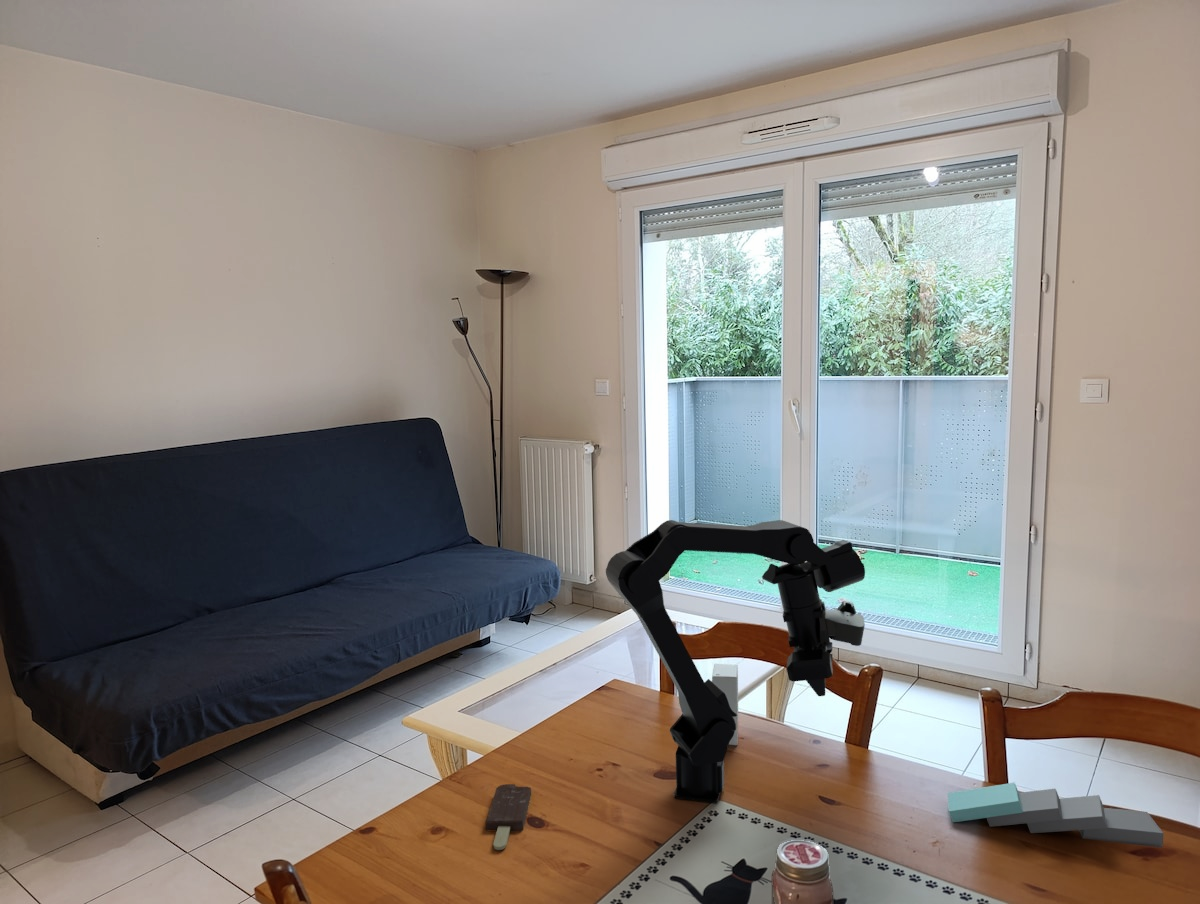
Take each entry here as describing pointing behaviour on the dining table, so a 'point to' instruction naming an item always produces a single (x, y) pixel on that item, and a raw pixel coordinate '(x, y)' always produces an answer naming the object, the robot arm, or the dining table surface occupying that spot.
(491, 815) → the ice cream bar
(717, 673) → the skincare box
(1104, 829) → the domino
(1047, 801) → the domino
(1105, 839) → the domino
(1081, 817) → the domino
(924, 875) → the dining table surface
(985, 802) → the placed domino
